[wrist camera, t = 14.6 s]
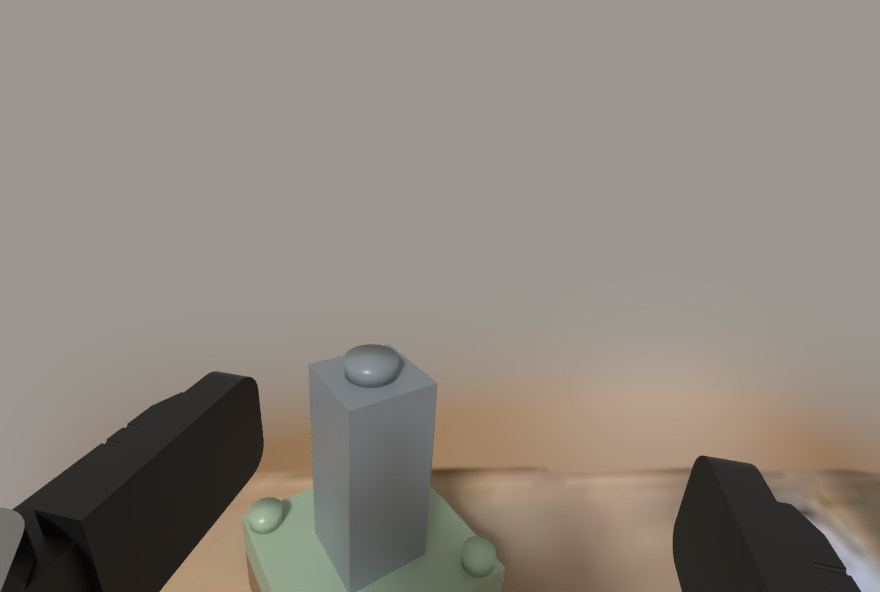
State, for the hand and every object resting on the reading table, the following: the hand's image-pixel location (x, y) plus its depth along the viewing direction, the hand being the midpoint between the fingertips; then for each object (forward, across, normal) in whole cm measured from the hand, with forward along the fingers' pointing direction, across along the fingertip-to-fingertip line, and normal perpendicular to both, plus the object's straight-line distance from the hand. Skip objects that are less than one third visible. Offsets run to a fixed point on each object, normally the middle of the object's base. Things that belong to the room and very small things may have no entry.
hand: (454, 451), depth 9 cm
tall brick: (+14, +7, +20) cm, 25 cm away
